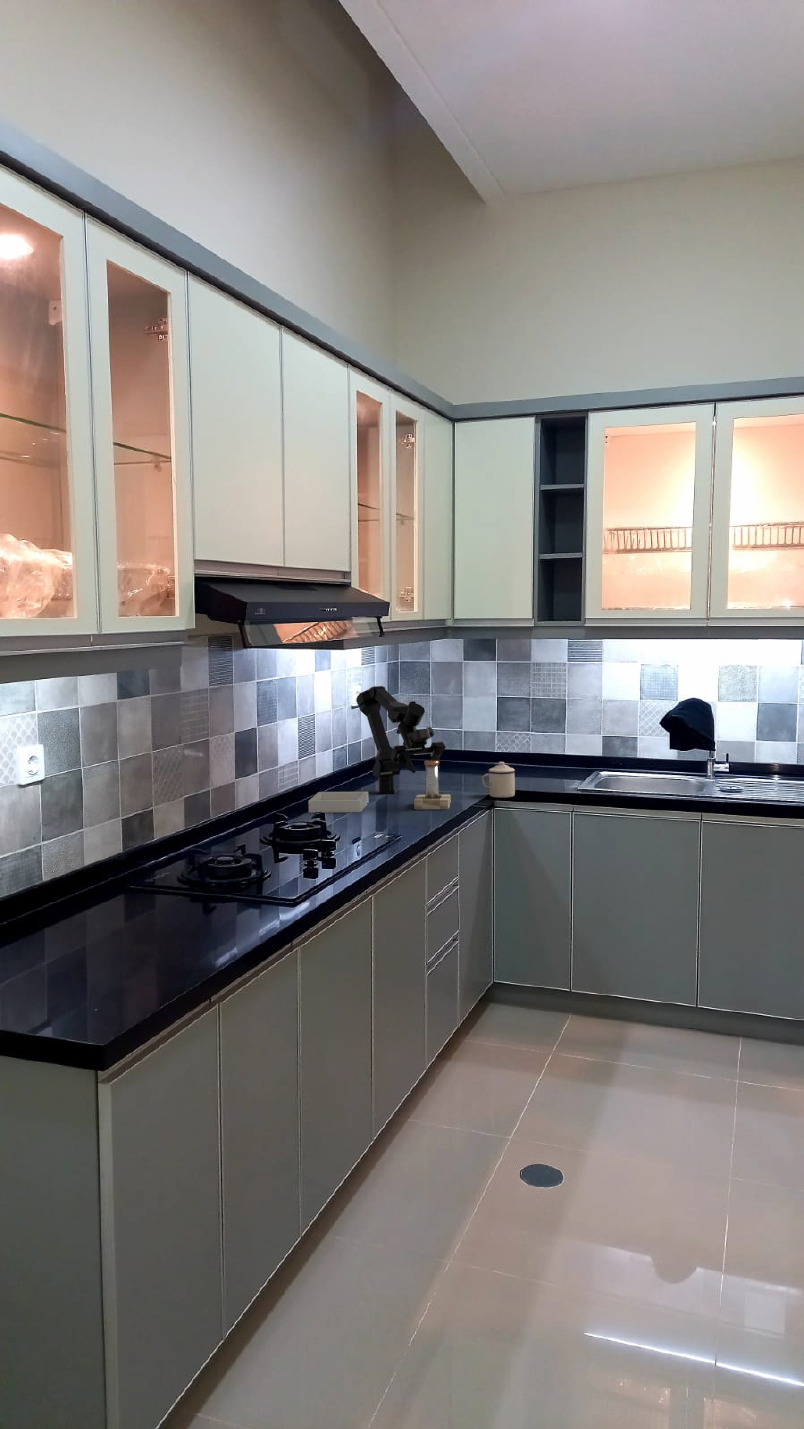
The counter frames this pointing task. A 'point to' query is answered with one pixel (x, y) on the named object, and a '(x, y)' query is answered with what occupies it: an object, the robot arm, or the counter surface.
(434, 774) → the metal pin
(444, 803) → the block
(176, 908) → the counter surface
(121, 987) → the counter surface
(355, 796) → the tray
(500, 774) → the teacup with lid
